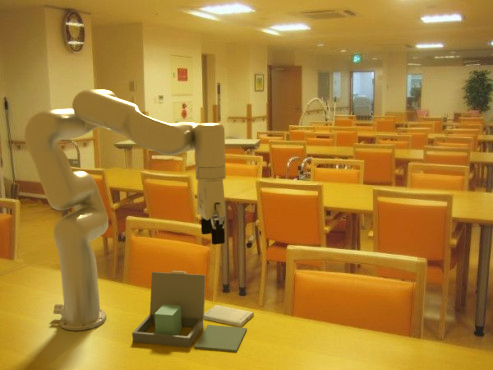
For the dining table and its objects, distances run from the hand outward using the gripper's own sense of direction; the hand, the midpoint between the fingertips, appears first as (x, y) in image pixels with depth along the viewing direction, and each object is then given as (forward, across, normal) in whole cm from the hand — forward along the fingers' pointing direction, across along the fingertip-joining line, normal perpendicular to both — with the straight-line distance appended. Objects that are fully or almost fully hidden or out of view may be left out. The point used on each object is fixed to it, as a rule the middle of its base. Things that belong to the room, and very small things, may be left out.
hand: (212, 238), depth 131 cm
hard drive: (+27, -9, +6) cm, 29 cm away
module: (+27, -5, -12) cm, 29 cm away
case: (+26, -5, -12) cm, 29 cm away
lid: (+18, -11, -8) cm, 22 cm away
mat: (+26, +3, +1) cm, 27 cm away
